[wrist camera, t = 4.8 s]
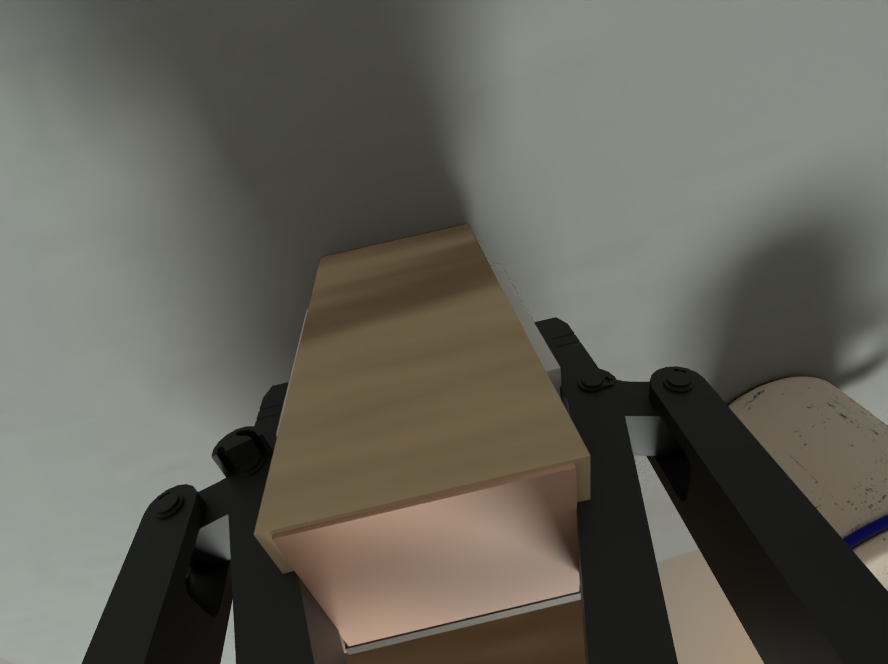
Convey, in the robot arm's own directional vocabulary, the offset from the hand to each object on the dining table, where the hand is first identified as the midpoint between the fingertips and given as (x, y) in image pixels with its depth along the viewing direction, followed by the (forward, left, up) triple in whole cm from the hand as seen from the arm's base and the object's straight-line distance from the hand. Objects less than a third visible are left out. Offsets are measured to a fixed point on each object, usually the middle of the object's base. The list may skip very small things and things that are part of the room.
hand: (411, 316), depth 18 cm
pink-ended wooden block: (0, 0, -2) cm, 2 cm away
